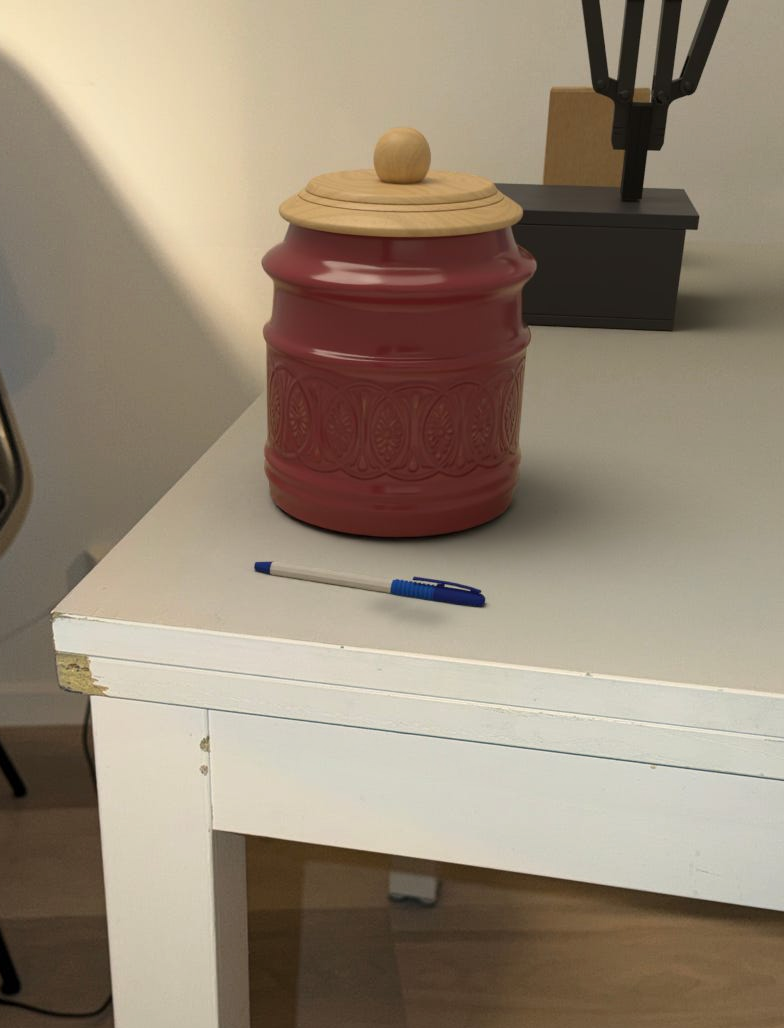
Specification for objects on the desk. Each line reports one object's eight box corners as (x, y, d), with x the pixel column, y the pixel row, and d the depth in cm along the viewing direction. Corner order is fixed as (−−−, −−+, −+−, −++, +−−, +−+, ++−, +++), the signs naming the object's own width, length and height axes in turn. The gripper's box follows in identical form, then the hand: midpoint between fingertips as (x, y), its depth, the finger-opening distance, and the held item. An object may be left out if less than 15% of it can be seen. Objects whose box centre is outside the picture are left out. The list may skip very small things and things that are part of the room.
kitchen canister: (247, 459, 72) (240, 114, 64) (474, 445, 74) (496, 110, 66) (287, 552, 60) (286, 148, 52) (554, 533, 62) (592, 141, 54)
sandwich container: (625, 236, 130) (643, 73, 123) (632, 268, 117) (653, 86, 110) (538, 233, 132) (551, 72, 125) (535, 264, 118) (550, 85, 111)
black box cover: (682, 202, 105) (684, 188, 104) (697, 230, 94) (699, 215, 93) (488, 195, 107) (489, 182, 106) (481, 222, 96) (482, 208, 95)
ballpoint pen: (486, 603, 56) (488, 582, 56) (482, 612, 55) (484, 591, 55) (257, 570, 59) (257, 550, 59) (251, 578, 58) (250, 558, 58)
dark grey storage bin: (660, 293, 108) (672, 201, 105) (672, 331, 97) (686, 229, 94) (483, 286, 110) (488, 196, 107) (475, 322, 99) (481, 223, 96)
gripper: (576, -173, 86) (543, 201, 97) (781, -174, 84) (724, 207, 95) (574, -163, 92) (544, 185, 103) (765, -165, 91) (713, 191, 101)
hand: (630, 195), depth 99 cm, fingers closed
